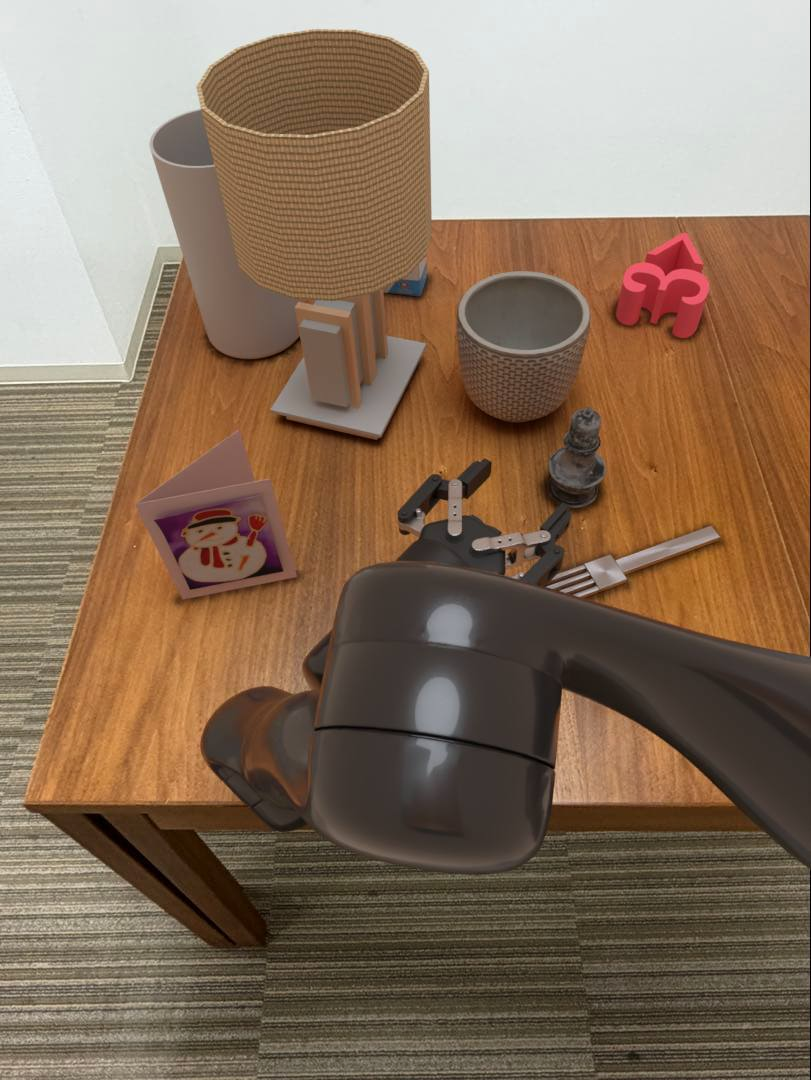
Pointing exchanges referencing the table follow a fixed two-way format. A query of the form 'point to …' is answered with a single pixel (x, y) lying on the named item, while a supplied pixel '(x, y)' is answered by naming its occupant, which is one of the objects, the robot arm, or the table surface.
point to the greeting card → (218, 524)
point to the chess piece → (578, 462)
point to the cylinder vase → (216, 247)
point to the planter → (521, 343)
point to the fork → (628, 564)
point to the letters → (666, 286)
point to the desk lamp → (328, 204)
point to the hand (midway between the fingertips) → (526, 487)
